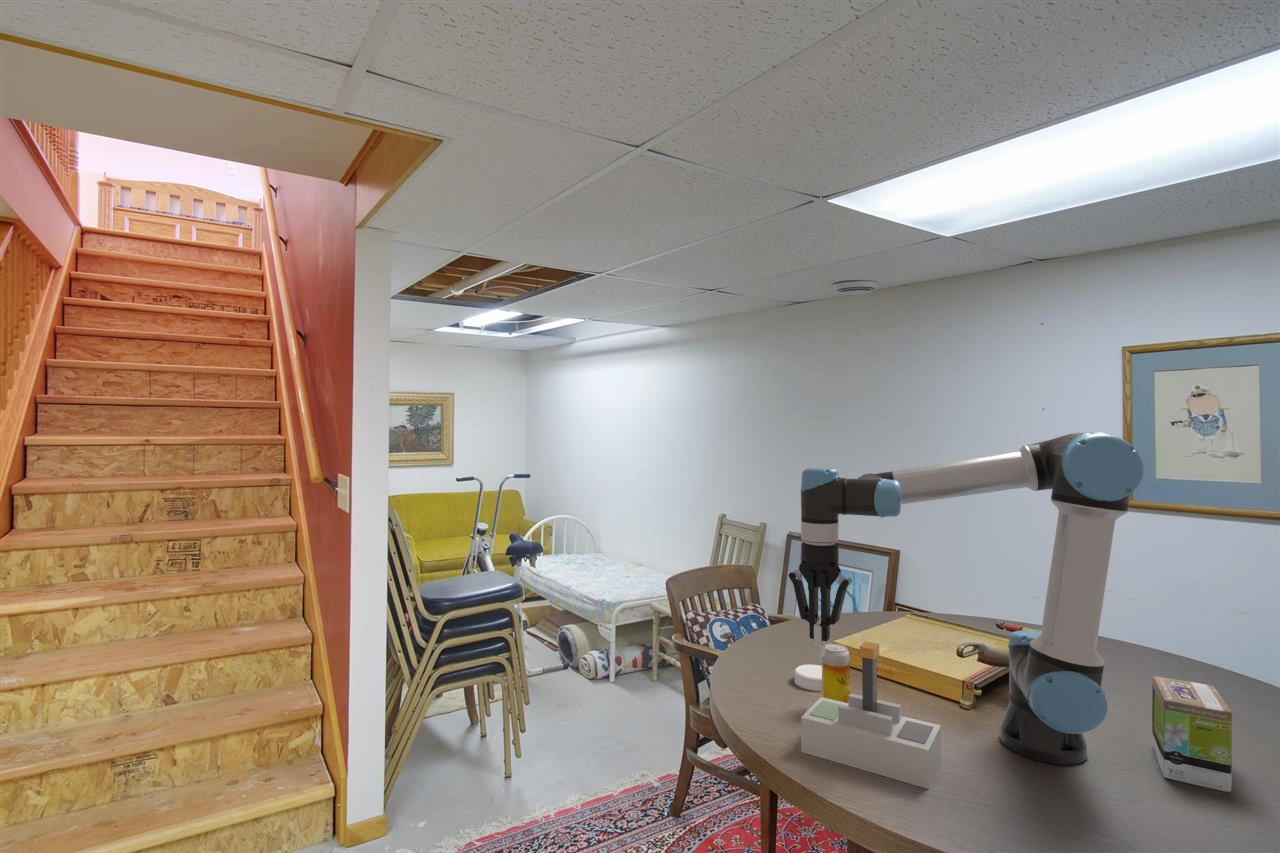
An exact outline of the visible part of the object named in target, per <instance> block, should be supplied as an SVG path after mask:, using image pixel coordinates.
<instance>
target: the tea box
mask: <svg viewBox="0 0 1280 853" xmlns="http://www.w3.org/2000/svg"><path fill="white" fill-rule="evenodd" d="M1151 686H1152V689H1151V690H1152V705H1151V706H1152V708H1151V709H1152V711H1151V712H1152V714H1151V716H1152V717H1151V719H1152V720H1151V722H1152V723H1151V725H1152V726H1151V727H1152V728H1151V739H1152V740H1151V743H1152V744H1151V745H1152V747H1153V751H1154V753H1155V756H1156V760H1157V762H1158V766H1159V768H1160V771H1161V774H1162V777H1163V778H1165V779H1168V780H1172V781H1177V782H1180V783H1186V784H1189V785H1193V786H1197V787H1198V786H1199V787H1203V788H1206V789H1211V790H1216V791H1221V792H1225V793H1231V791H1232V789H1233V788H1232V784H1233V783H1232V781H1233V780H1232V778H1233V777H1232V775H1233V772H1232V766H1233V764H1232V763H1233V754H1232V753H1233V751H1232V750H1233V712H1232V710H1231V709H1230V707H1229V705H1228V704H1227V703H1226V701H1225V700H1224V699H1223V697H1222V696H1221V694H1220V693H1219V691H1218V689H1216V687H1215V686H1214V685H1210V684H1204V683H1199V682H1194V681H1186V680H1181V679H1175V678H1168V677H1162V676H1155V675H1154V676H1152V685H1151Z"/></svg>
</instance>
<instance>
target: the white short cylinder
mask: <svg viewBox="0 0 1280 853" xmlns="http://www.w3.org/2000/svg"><path fill="white" fill-rule="evenodd" d="M794 684H795V685H796V686H797V687H799V688H802V690H803V689H804V690H808V691H813V692H822V665H818V664H802V665H798V666H796V667H795V669H794Z"/></svg>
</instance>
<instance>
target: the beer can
mask: <svg viewBox="0 0 1280 853" xmlns="http://www.w3.org/2000/svg"><path fill="white" fill-rule="evenodd" d="M821 666H822V691H821V697H823V698H827V699H832V700H836V701H840V702H844V703H848V696H849V695H850V694H851V692H850V689H851V688H850V680H851V679H850V673H851V672H850V652H849V649H848V647H847V646H846V645H843V644H838V643H827V644H826V643H825V655H824V656H823V657H821Z"/></svg>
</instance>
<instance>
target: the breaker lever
mask: <svg viewBox="0 0 1280 853" xmlns="http://www.w3.org/2000/svg"><path fill="white" fill-rule="evenodd" d="M879 655H880V643H876V642H869V641H864V642H863V643H862V644H861V645H860V646H859V657H860V658H862V659H861V662H862V663H861V665H862V666H861V669H862V670H861V671H862V674H861V675H862V676H861V677H862V678H861V679H862V680H861V681H862V687H861V688H862V692H861V693H862V695H861V696H863V710H866V711H870V712H874V713H877V700H878V673H877V671H878V664H877V663H878V662H877V661H878V659H877V658H878V656H879Z"/></svg>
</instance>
